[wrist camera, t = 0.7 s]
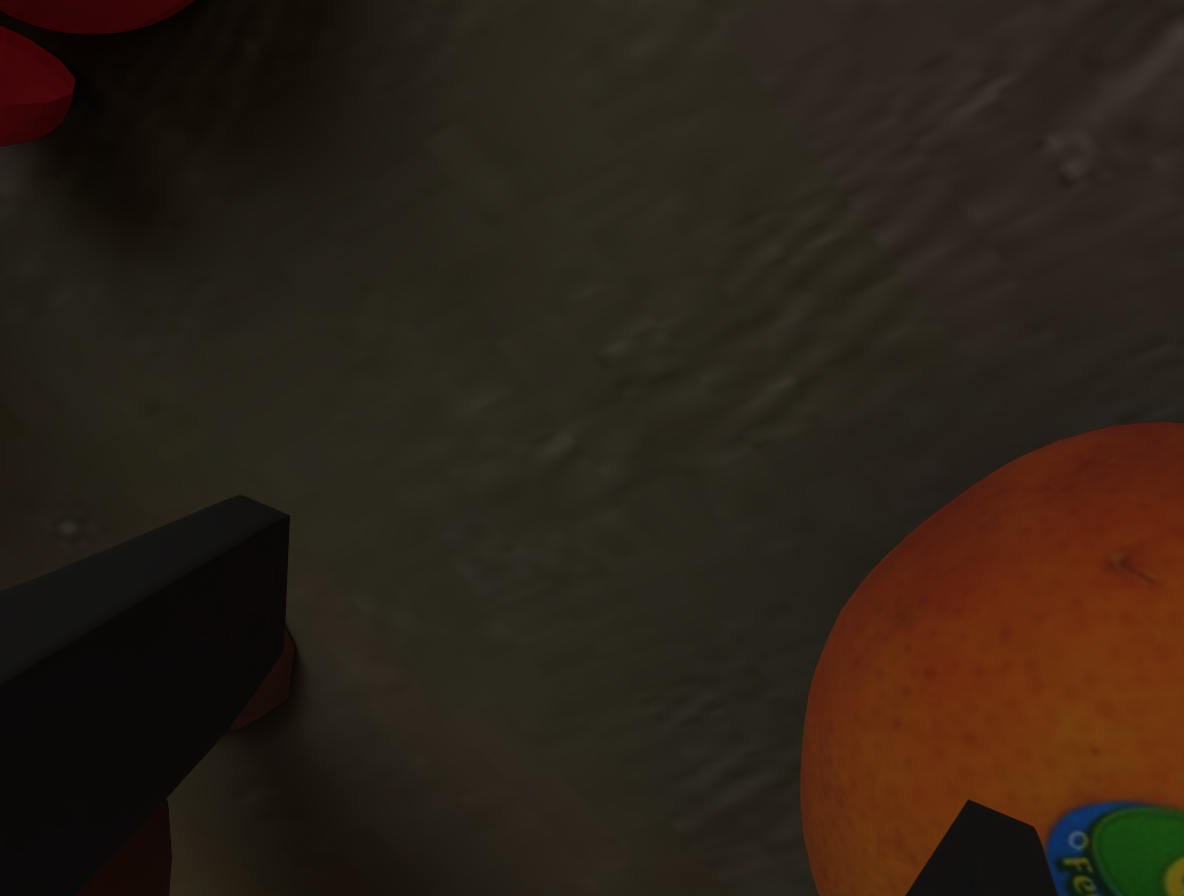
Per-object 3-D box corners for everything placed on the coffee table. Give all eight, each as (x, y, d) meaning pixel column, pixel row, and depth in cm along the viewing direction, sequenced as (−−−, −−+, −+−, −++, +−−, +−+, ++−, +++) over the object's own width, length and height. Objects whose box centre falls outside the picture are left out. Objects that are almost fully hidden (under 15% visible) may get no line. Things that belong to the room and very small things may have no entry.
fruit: (1403, 938, 19) (1652, 1488, 12) (821, 815, 22) (746, 1188, 15) (1607, 378, 15) (2172, 711, 8) (857, 330, 18) (776, 532, 11)
